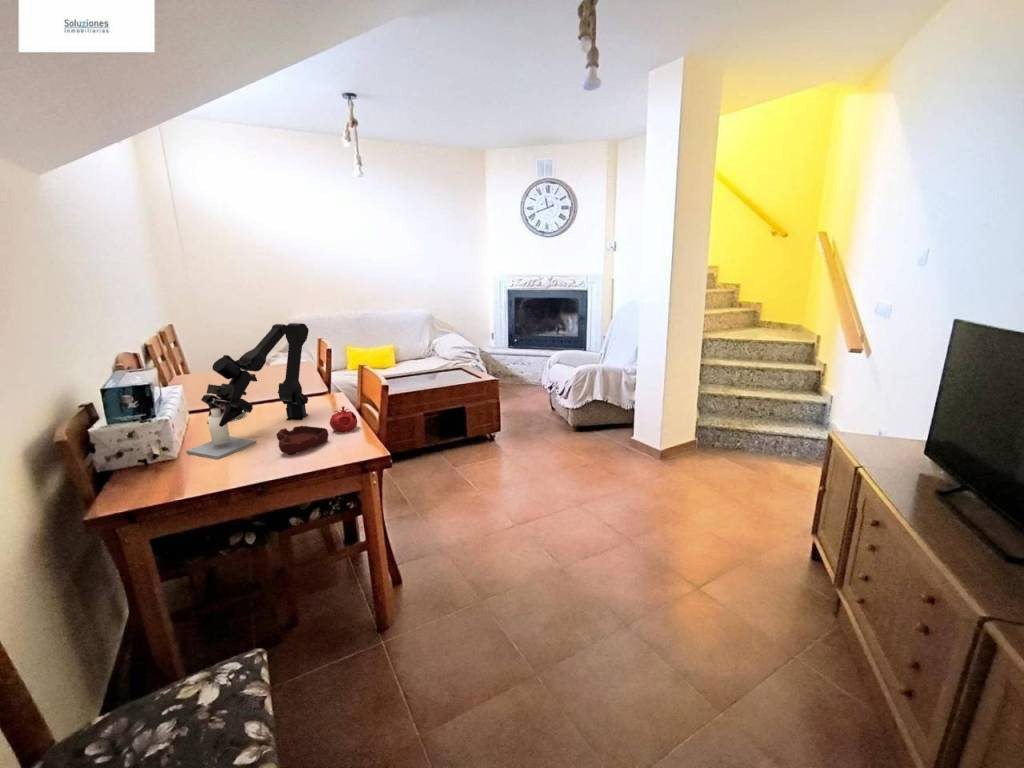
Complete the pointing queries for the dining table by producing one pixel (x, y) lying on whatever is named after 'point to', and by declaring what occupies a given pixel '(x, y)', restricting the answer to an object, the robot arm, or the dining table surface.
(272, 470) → the dining table surface
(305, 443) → the ashtray
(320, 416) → the dining table surface
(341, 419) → the pomegranate
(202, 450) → the board
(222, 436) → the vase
